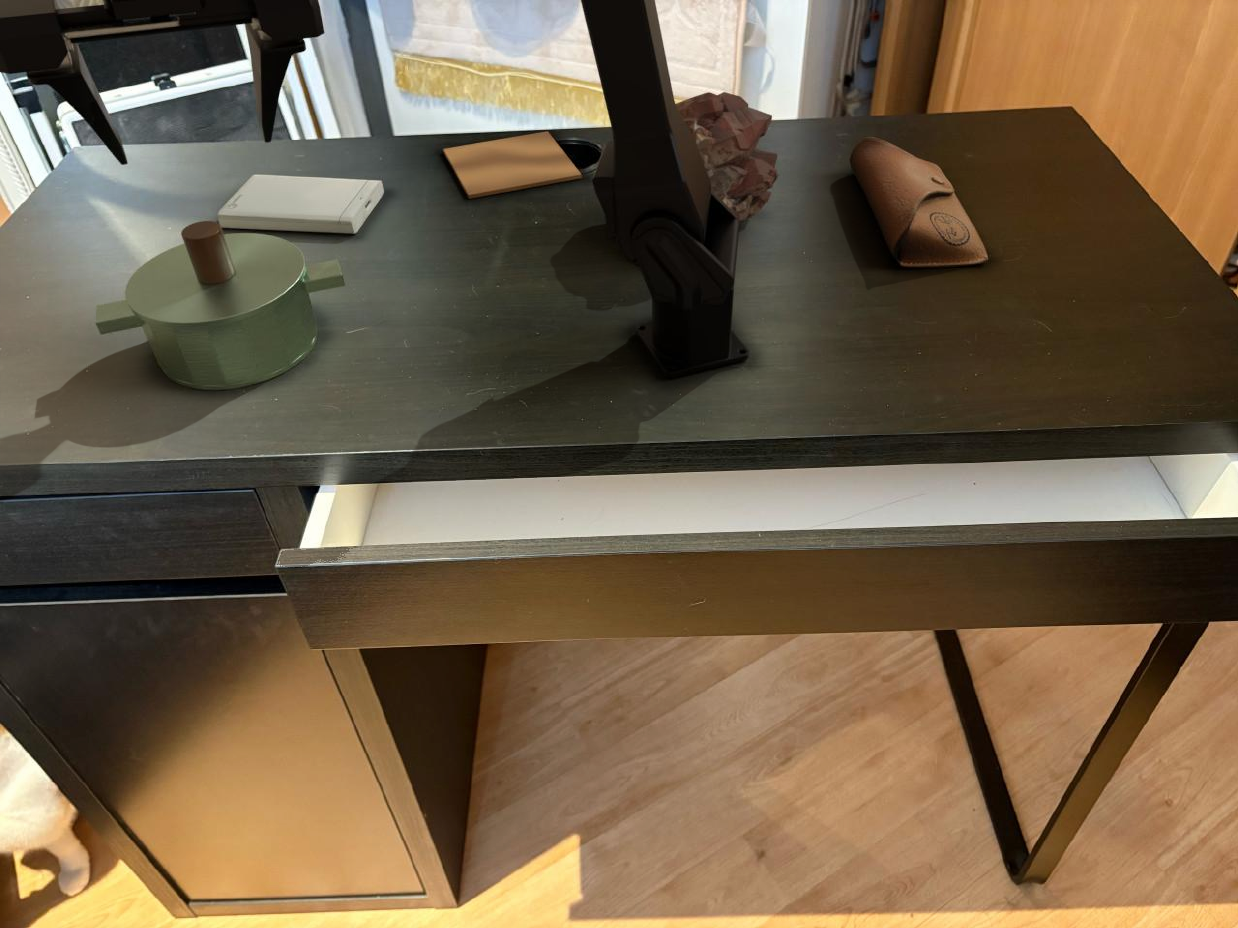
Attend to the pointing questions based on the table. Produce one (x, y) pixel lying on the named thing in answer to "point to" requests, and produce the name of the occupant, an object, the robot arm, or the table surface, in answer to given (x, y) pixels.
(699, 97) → the mineral specimen
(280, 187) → the hard drive
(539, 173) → the coaster pad
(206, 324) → the tin lid
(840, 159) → the table surface
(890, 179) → the sunglasses case
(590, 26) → the robot arm
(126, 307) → the green cooking pot
